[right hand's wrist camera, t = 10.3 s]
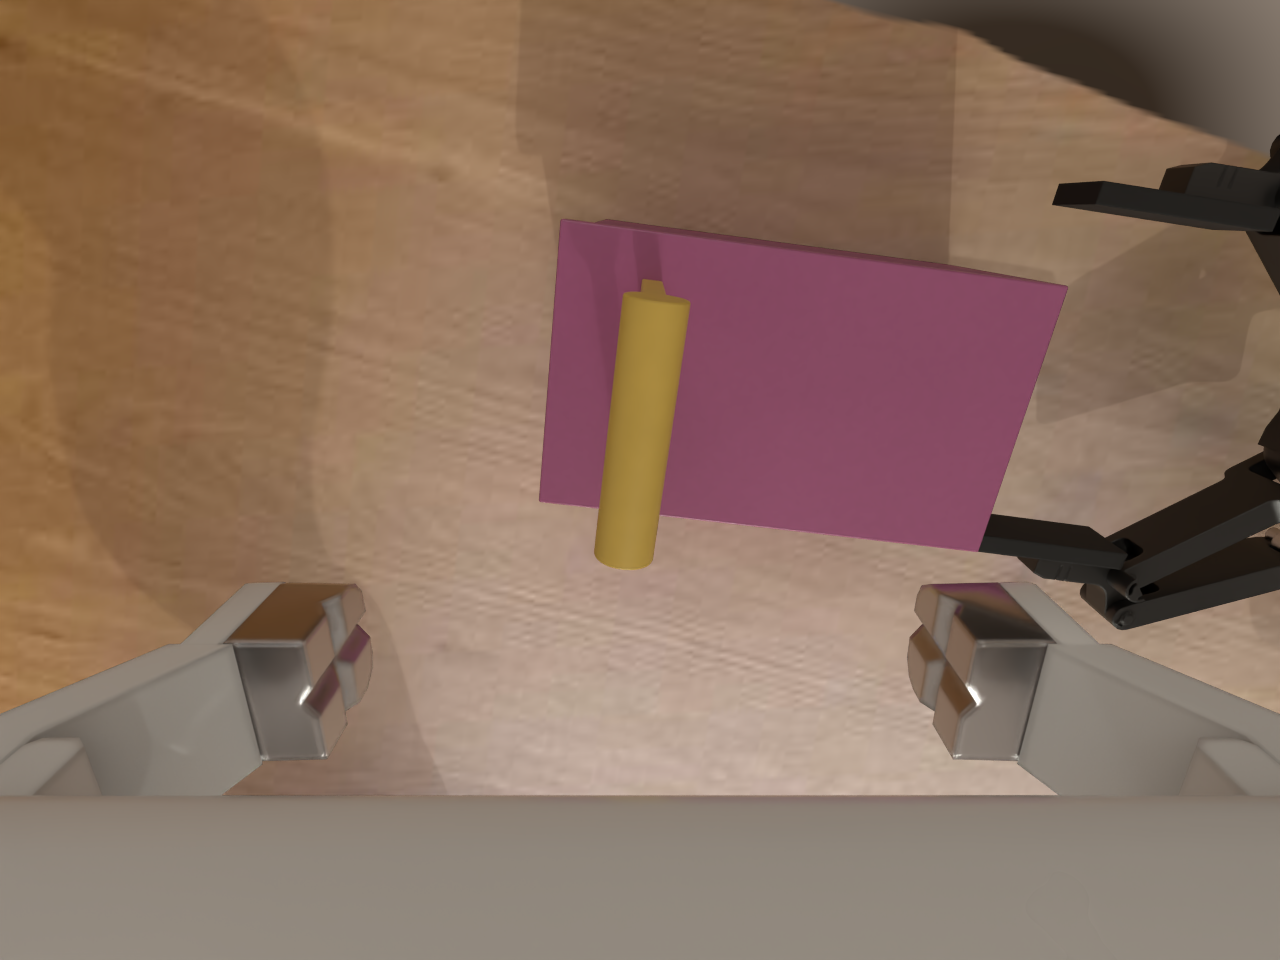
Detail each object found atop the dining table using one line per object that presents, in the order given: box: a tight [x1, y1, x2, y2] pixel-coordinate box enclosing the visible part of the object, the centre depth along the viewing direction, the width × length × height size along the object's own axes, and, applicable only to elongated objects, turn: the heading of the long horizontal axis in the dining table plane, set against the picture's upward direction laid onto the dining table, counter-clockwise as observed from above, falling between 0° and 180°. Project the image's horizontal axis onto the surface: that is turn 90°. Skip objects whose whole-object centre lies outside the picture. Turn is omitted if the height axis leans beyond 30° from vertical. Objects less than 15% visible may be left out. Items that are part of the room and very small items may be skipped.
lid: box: [539, 219, 1068, 570], centre depth 21 cm, size 17×10×8 cm, turn 83°
